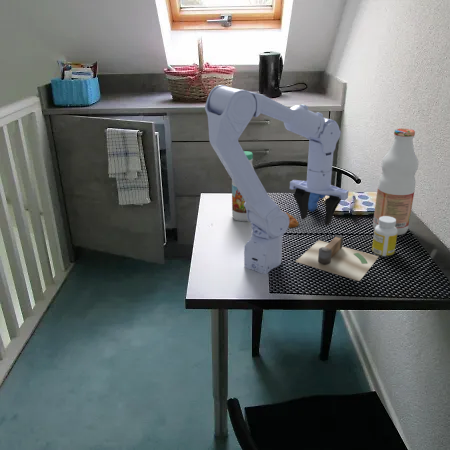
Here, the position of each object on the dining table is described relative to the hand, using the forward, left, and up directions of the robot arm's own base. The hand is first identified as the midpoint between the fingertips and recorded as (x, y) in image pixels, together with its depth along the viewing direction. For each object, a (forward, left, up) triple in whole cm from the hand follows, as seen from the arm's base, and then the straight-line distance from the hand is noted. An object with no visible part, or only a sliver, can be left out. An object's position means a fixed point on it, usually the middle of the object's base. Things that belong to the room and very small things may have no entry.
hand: (315, 220), depth 111 cm
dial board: (-3, -7, -8) cm, 12 cm away
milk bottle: (+8, +27, -9) cm, 29 cm away
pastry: (+9, +15, -9) cm, 20 cm away
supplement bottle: (+7, -15, -9) cm, 19 cm away
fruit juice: (+23, -12, -9) cm, 28 cm away
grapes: (+23, +11, -9) cm, 27 cm away
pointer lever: (-2, -5, -7) cm, 9 cm away
